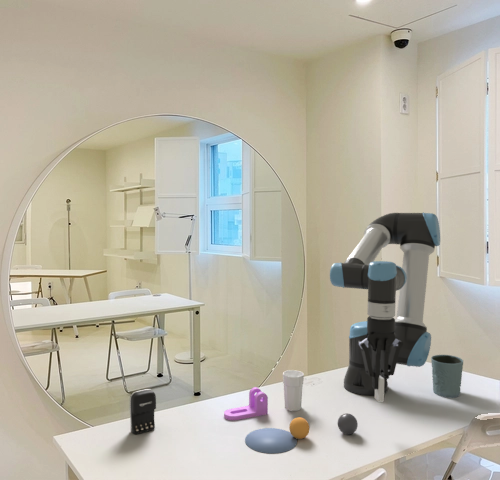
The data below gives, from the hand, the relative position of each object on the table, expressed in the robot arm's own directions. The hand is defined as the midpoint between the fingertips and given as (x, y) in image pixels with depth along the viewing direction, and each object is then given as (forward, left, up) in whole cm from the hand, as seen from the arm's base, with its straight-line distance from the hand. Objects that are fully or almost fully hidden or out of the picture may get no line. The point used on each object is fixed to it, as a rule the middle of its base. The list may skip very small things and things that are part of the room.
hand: (379, 399), depth 135 cm
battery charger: (-12, -65, -9) cm, 67 cm away
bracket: (-18, -35, -10) cm, 41 cm away
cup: (-20, -19, -9) cm, 29 cm away
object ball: (0, -23, -6) cm, 24 cm away
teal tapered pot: (-22, +36, -9) cm, 43 cm away
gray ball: (0, -9, -6) cm, 11 cm away
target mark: (0, -31, -9) cm, 32 cm away
